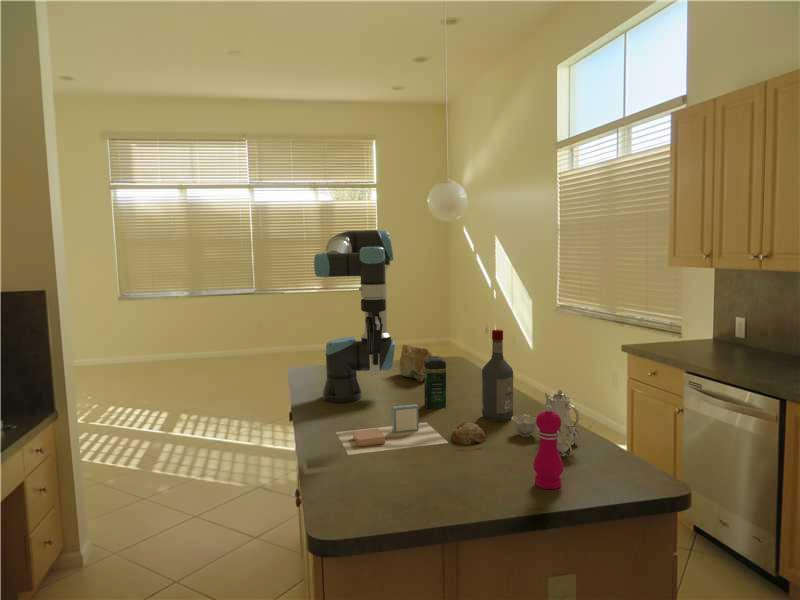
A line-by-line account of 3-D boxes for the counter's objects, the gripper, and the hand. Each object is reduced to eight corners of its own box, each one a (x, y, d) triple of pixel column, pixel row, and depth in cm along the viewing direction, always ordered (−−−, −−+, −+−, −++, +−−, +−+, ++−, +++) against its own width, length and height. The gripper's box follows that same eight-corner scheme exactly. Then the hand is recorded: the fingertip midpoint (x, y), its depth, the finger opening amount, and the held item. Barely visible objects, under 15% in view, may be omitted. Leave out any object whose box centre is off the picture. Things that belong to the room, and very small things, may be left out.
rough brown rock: (450, 384, 245) (452, 349, 244) (414, 384, 239) (416, 349, 239) (429, 374, 267) (431, 342, 266) (396, 374, 261) (397, 342, 260)
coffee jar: (448, 410, 204) (447, 359, 202) (426, 411, 203) (425, 360, 201) (444, 403, 213) (444, 354, 212) (423, 403, 213) (422, 354, 211)
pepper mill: (529, 478, 145) (529, 401, 143) (557, 477, 146) (557, 400, 144) (538, 490, 138) (539, 410, 136) (567, 489, 138) (568, 408, 136)
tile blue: (392, 431, 179) (391, 406, 178) (416, 428, 181) (416, 404, 180) (394, 433, 177) (393, 408, 176) (418, 430, 179) (418, 406, 178)
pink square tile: (352, 431, 173) (358, 439, 165) (378, 428, 175) (385, 436, 168) (352, 438, 173) (358, 447, 166) (378, 435, 176) (385, 444, 168)
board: (335, 436, 179) (335, 432, 179) (426, 425, 187) (426, 422, 187) (348, 458, 160) (348, 454, 160) (448, 446, 168) (448, 442, 168)
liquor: (516, 416, 196) (516, 330, 193) (501, 423, 189) (501, 333, 186) (493, 411, 202) (493, 327, 199) (478, 417, 195) (478, 330, 192)
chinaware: (502, 437, 180) (497, 387, 178) (545, 425, 186) (541, 376, 184) (559, 469, 154) (555, 411, 152) (607, 453, 161) (604, 397, 158)
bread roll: (459, 461, 167) (466, 440, 163) (442, 437, 175) (448, 417, 171) (487, 454, 171) (494, 434, 168) (469, 431, 179) (476, 412, 175)
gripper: (356, 296, 178) (358, 370, 180) (365, 300, 165) (367, 380, 168) (380, 295, 180) (381, 368, 182) (390, 299, 167) (391, 378, 170)
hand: (374, 374), depth 175 cm, fingers closed
